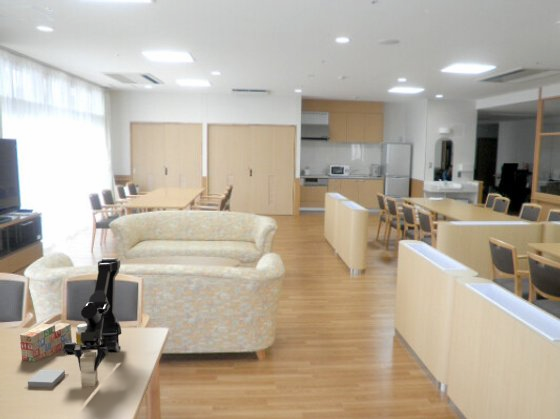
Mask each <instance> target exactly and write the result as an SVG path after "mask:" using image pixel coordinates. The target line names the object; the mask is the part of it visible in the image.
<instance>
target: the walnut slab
mask: <svg viewBox="0 0 560 419" xmlns="http://www.w3.org/2000/svg"><path fill="white" fill-rule="evenodd" d="M69 375H70V373H65V376H64V377H63V378H62V379H61V380H60V381H59V382H58V383H57V384H56V385H55V386H54V387H53V388H49V387H28V384H27V385H26V386H25V387H24V389H31V390H33V389H35V390H37V389H39V390H46V389H47V390H55V389H56V388H57V387H58V386H59V385H60V384H61V383H62V382H63V381H64V380H65V379H66V378H67V377H68V376H69Z"/></svg>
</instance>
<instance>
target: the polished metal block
mask: <svg viewBox="0 0 560 419" xmlns="http://www.w3.org/2000/svg"><path fill="white" fill-rule="evenodd" d="M96 357H97V351H91V352H90V351H89V352H83V354H82V356H81V357H80V367H81V371H80V379H81V380H80V382H81V383H80V384H81V387H82V388H83V387H94V386H96V384H97V382H98V380H99V378H98V369H97V370H96V371H94V366H95V361H96ZM80 367H79V368H80Z"/></svg>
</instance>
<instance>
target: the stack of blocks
mask: <svg viewBox="0 0 560 419" xmlns="http://www.w3.org/2000/svg"><path fill="white" fill-rule="evenodd" d="M71 328H72V327H71V323H66V322H65V323H63V322H58V323H56V324H50V323H49V324H48V323H41V324H39V325H38V326H35V327H33V328H31V329H29V330H27V331H25V332H22V333H20V334H19V339H20V351H21V360H23V361H29V362H34V363H35V362H36V361H39V360H40V359H41V358H43V357H51V356H53V355H55V354H56V353H58V352H60V351H61V350H63V346H64V344H65V343H73V340H72V329H71Z"/></svg>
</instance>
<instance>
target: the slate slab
mask: <svg viewBox="0 0 560 419" xmlns="http://www.w3.org/2000/svg"><path fill="white" fill-rule="evenodd" d="M65 374H66V372H65V370H64V369H63V370H62V369H61V370H59V369H40V370H38V372H37V373H36V374H34V375H33V376H32V377H31V379H29V380H28V381H27V385H28V387H49V388H53V387H54V386H55V385H56V384H57V383H58V382H59V381H60V380H61V379H62V378H63V377H64V376H65Z"/></svg>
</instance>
